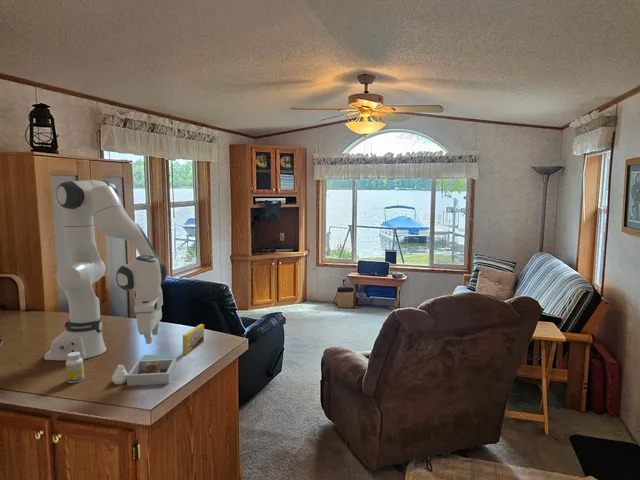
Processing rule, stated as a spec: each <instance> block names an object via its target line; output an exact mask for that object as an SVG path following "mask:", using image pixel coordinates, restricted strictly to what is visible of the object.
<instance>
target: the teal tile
mask: <svg viewBox="0 0 640 480" xmlns="http://www.w3.org/2000/svg"><path fill="white" fill-rule="evenodd" d="M172 357H173V353H157V354H155V353H154V354H143V356H142V357H141V358H140V360H159V359H172Z"/></svg>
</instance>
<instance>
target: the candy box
mask: <svg viewBox="0 0 640 480" xmlns="http://www.w3.org/2000/svg"><path fill="white" fill-rule="evenodd" d="M204 342H205V324H203V323H200V324H198V325H196V326H195V327H193V328H192V329H191V330H189V331H187V332H186V333H184V334H182V355H185V356H187V355H188V354H189V353H191V352H192V351H194V350H195V349H196V348H197V347H199V346H200V345H202V344H203V343H204Z"/></svg>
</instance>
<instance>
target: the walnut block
mask: <svg viewBox="0 0 640 480" xmlns="http://www.w3.org/2000/svg"><path fill="white" fill-rule="evenodd" d="M144 371H145V374H150V373H161V369H160V363H159V361H148V362H147V364H146V365H145V370H144Z"/></svg>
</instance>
